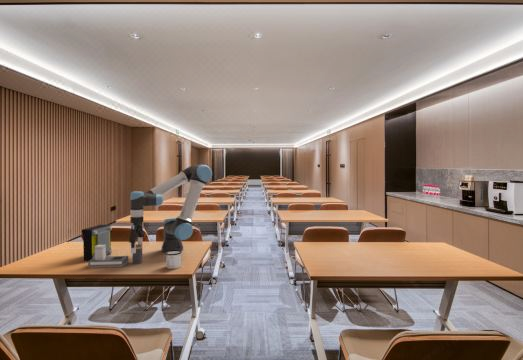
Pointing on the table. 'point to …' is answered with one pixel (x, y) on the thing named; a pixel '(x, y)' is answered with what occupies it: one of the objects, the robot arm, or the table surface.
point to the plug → (137, 254)
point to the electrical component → (96, 240)
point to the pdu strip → (109, 262)
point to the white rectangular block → (100, 252)
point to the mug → (173, 259)
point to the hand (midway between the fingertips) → (136, 250)
